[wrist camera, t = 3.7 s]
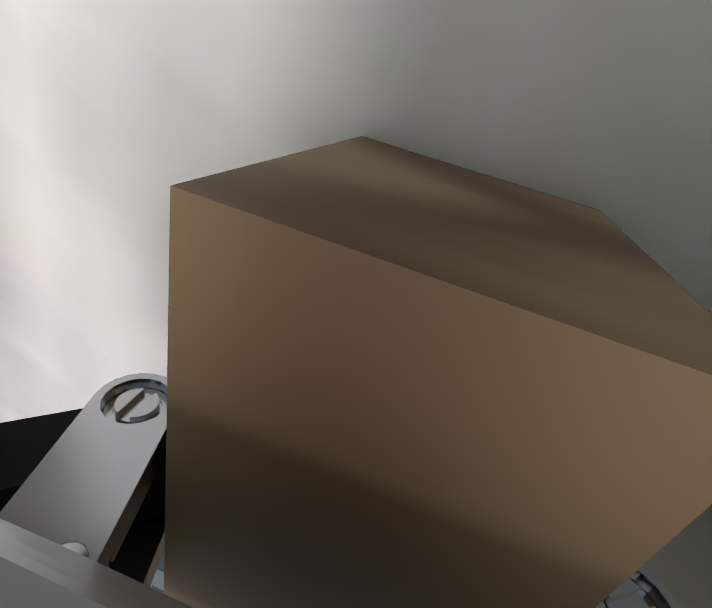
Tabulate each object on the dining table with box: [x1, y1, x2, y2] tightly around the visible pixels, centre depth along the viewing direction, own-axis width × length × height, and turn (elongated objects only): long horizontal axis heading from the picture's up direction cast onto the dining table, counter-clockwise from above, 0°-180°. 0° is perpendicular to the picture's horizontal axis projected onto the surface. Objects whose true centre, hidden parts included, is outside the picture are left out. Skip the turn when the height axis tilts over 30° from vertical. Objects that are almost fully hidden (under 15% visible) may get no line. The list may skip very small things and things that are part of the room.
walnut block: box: [164, 137, 712, 608], centre depth 8 cm, size 5×10×6 cm, turn 166°
